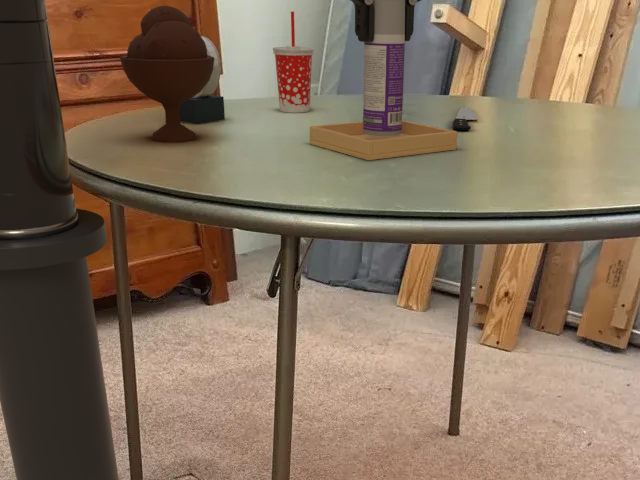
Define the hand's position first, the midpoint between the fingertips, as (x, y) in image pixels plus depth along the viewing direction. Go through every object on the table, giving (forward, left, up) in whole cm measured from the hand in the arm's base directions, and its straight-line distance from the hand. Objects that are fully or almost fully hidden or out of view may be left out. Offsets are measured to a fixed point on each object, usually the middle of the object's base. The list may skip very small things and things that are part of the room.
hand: (384, 40), depth 91 cm
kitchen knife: (+24, +12, -12) cm, 29 cm away
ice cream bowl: (-19, +18, -12) cm, 29 cm away
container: (0, 0, -11) cm, 11 cm away
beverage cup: (+7, +32, -12) cm, 35 cm away
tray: (0, 0, -12) cm, 12 cm away
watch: (-10, +30, -12) cm, 34 cm away
